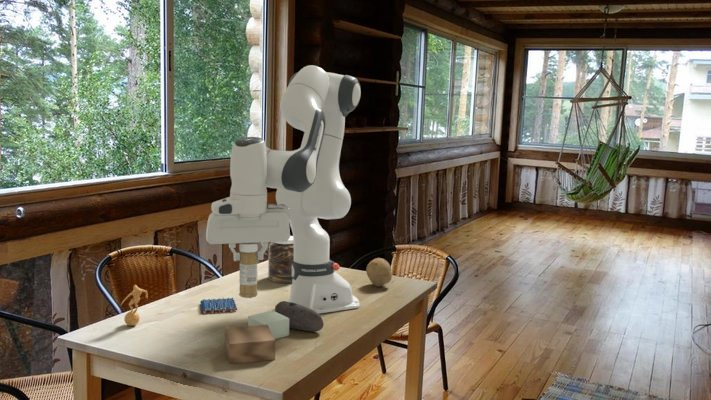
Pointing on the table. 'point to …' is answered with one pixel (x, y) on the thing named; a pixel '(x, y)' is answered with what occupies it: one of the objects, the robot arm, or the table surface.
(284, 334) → the grey-green block
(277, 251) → the jar
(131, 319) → the figurine
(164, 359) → the table surface
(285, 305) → the perforated stone tool
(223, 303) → the woven mat
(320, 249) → the robot arm
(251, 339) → the walnut block
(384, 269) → the natural sponge
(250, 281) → the sprinkles bottle
